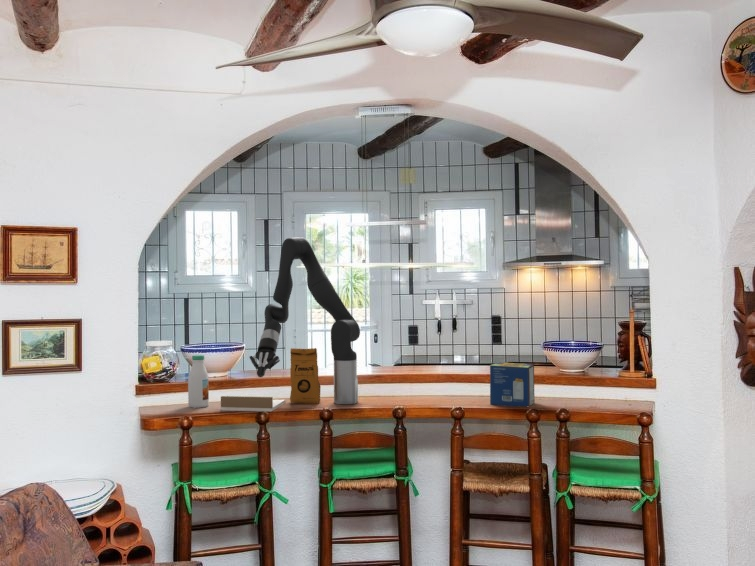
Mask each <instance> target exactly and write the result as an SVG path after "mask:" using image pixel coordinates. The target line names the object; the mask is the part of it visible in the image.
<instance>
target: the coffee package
mask: <svg viewBox="0 0 755 566" xmlns="http://www.w3.org/2000/svg"><path fill="white" fill-rule="evenodd" d="M317 351H318V349H317V348H316V347H315V348H290V352H289V353H290V368H289V369H290V372H289V373H290V375H289V376H290V384H291V385H290V388H291V389H290V396H289V402H290V403H292V404H298V405H299V404H303V405H305V404H307V405H309V404H311V405H312V404H319V403H320V402H321V387H322V386H321V383H320V380H319V366H318V365H319V364H318V352H317Z"/></svg>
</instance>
